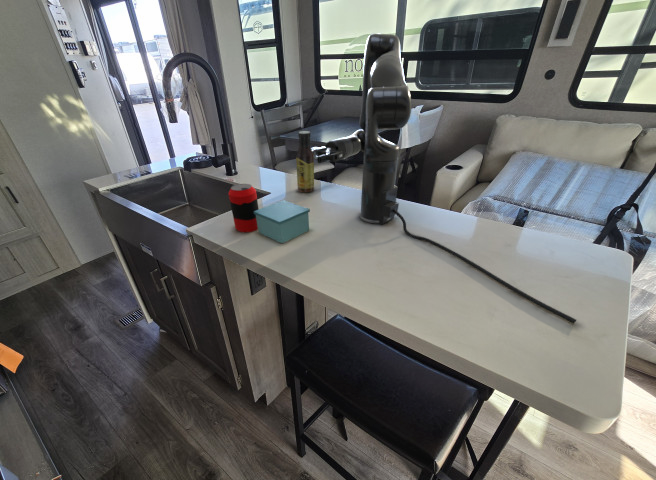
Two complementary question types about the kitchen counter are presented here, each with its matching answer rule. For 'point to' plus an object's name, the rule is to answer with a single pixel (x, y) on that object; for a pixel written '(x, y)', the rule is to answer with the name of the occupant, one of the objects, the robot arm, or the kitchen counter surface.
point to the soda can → (244, 207)
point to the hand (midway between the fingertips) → (309, 158)
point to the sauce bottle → (305, 163)
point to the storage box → (282, 221)
